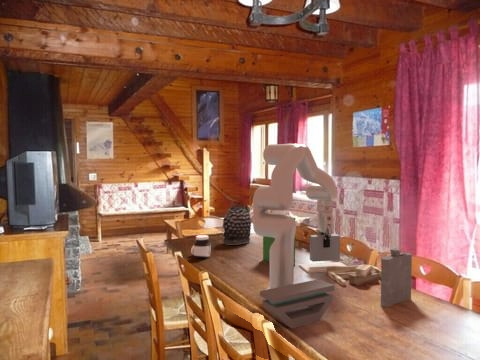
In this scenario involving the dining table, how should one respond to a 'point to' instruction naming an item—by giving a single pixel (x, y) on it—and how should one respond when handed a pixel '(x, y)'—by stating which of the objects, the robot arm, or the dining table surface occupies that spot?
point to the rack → (346, 272)
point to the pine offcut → (363, 270)
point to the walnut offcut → (363, 279)
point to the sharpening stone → (298, 302)
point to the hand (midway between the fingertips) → (324, 245)
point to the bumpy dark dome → (237, 225)
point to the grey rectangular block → (324, 253)
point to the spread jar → (201, 247)
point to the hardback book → (266, 248)
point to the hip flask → (395, 278)
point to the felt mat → (319, 266)
